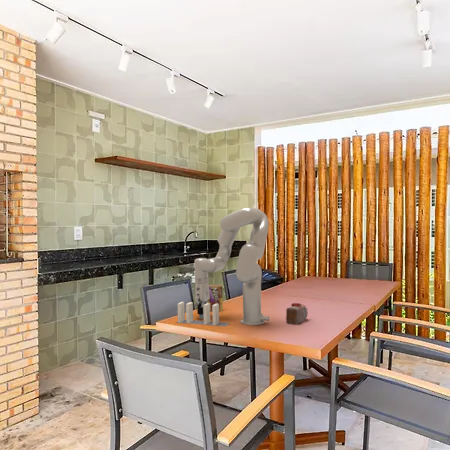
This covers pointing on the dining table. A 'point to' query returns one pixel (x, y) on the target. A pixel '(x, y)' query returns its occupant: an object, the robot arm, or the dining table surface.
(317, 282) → the dining table surface
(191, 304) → the domino
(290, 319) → the food item
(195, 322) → the mat
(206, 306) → the domino
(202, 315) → the slate domino
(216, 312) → the domino
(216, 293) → the candy box
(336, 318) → the dining table surface
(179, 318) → the domino
